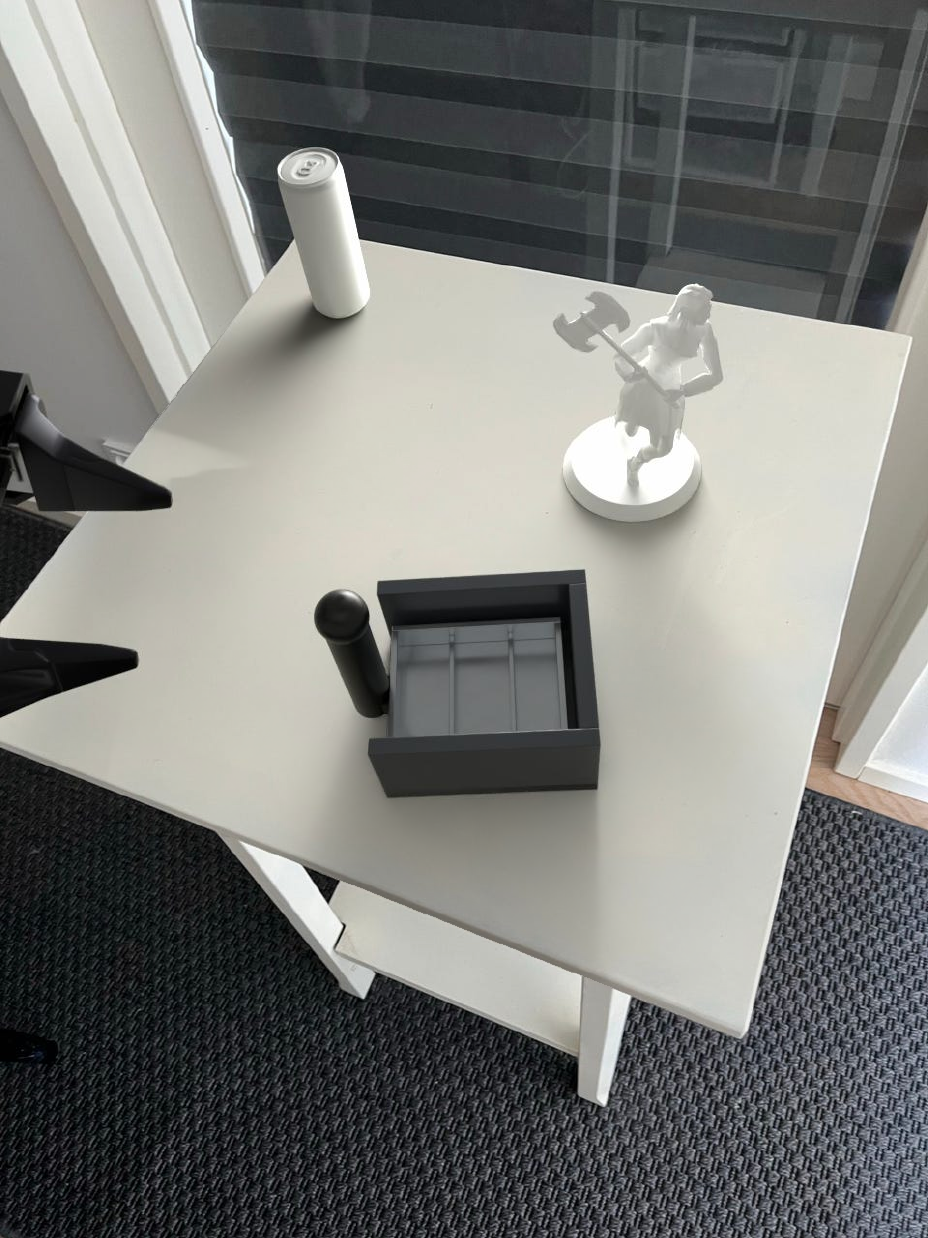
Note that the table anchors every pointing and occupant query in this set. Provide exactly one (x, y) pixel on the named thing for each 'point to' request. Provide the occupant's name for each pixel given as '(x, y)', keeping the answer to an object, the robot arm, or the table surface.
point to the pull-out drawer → (449, 671)
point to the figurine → (642, 410)
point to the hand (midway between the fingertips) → (155, 574)
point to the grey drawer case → (503, 755)
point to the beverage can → (324, 230)
